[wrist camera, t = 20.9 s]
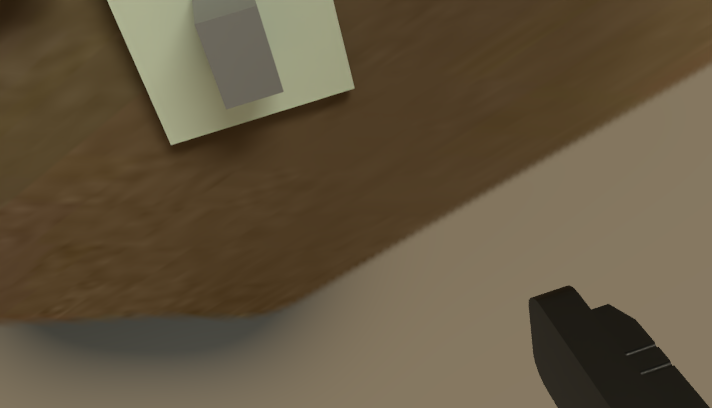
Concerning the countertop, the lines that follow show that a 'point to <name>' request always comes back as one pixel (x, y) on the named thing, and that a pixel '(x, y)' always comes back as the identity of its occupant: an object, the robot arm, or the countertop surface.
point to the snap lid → (232, 58)
